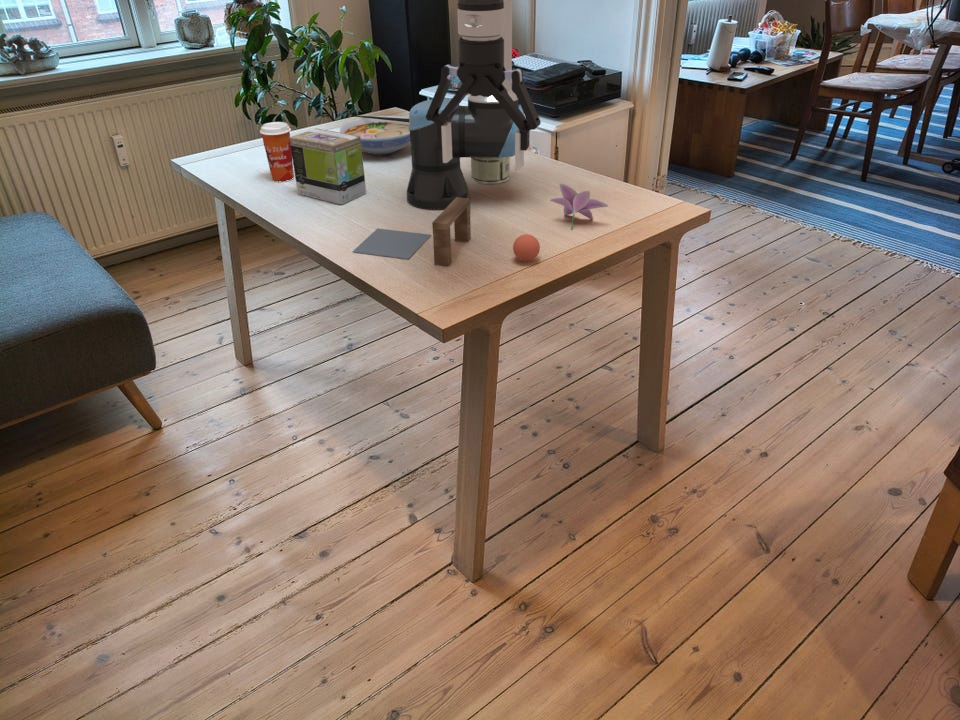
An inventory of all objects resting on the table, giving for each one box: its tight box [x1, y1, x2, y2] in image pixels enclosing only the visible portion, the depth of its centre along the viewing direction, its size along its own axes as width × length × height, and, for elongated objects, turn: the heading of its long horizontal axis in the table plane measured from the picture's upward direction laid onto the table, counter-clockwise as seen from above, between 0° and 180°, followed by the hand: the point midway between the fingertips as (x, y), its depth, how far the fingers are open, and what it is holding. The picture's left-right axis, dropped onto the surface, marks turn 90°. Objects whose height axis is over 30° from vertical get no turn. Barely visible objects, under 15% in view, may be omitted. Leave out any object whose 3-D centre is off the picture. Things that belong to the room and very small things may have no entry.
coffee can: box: [470, 157, 511, 185], centre depth 194 cm, size 10×10×14 cm
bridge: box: [431, 197, 472, 267], centre depth 157 cm, size 3×14×9 cm, turn 162°
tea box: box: [289, 127, 367, 205], centre depth 185 cm, size 15×10×15 cm, turn 57°
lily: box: [549, 182, 609, 231], centre depth 169 cm, size 12×12×10 cm
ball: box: [512, 233, 541, 262], centre depth 154 cm, size 6×6×6 cm
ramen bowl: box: [339, 114, 411, 156], centre depth 216 cm, size 25×23×8 cm
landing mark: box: [351, 228, 432, 261], centre depth 163 cm, size 13×13×1 cm
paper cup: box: [259, 121, 295, 183], centre depth 196 cm, size 8×8×14 cm
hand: (482, 164), depth 134 cm, fingers open, 13 cm apart
